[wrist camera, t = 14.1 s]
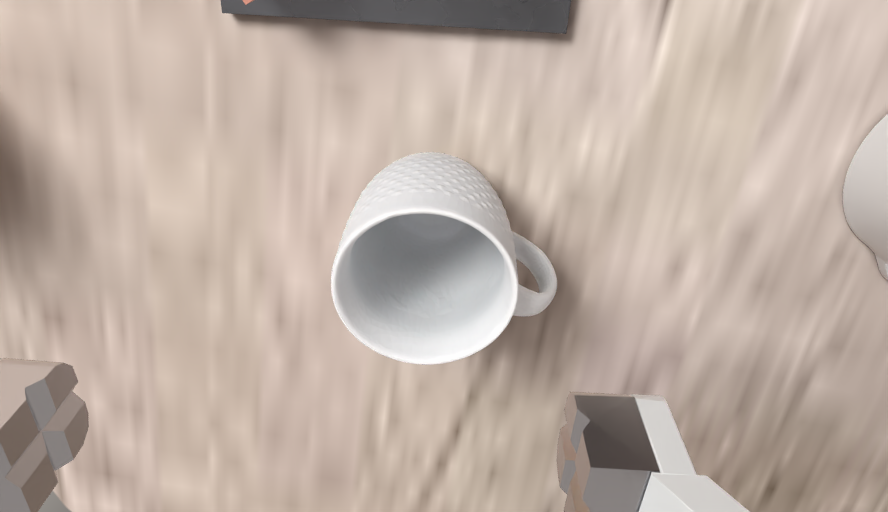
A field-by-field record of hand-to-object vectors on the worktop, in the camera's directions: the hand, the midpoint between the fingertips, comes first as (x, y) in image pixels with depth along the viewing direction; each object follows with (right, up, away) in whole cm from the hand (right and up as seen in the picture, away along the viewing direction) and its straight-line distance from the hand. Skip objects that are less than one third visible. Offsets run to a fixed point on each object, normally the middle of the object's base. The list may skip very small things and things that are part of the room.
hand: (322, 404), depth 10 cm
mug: (+2, +7, +37) cm, 38 cm away
